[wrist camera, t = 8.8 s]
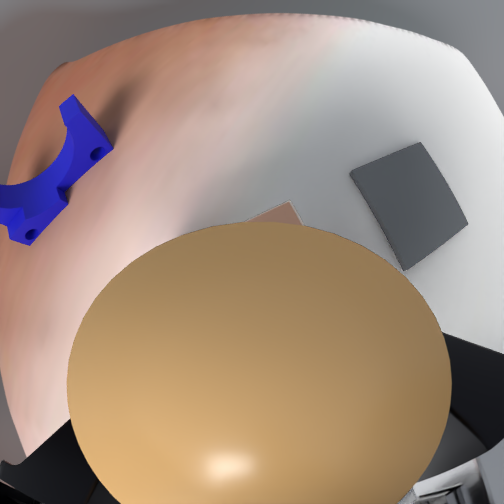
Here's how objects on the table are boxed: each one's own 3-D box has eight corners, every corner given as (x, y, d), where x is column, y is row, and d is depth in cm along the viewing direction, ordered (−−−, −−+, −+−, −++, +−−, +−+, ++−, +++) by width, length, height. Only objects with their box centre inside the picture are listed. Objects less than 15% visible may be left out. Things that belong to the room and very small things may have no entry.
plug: (313, 323, 15) (496, 380, 2) (264, 377, 14) (269, 578, 1) (258, 276, 15) (238, 140, 2) (209, 330, 15) (27, 407, 2)
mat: (464, 225, 17) (468, 224, 17) (403, 270, 17) (407, 269, 16) (417, 145, 19) (420, 142, 18) (349, 174, 18) (352, 170, 18)
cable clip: (31, 246, 19) (-14, 230, 13) (22, 212, 20) (-17, 192, 14) (120, 160, 20) (84, 121, 14) (104, 131, 21) (73, 94, 15)
